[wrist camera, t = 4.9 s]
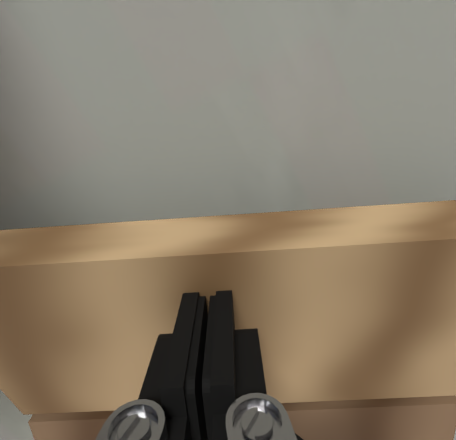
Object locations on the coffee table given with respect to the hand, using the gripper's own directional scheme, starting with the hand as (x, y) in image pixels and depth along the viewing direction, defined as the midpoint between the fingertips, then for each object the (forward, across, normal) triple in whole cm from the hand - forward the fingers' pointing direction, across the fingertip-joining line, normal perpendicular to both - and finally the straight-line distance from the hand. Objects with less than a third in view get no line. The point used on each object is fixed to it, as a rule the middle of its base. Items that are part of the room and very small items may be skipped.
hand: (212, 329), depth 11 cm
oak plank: (+3, -1, +1) cm, 3 cm away
